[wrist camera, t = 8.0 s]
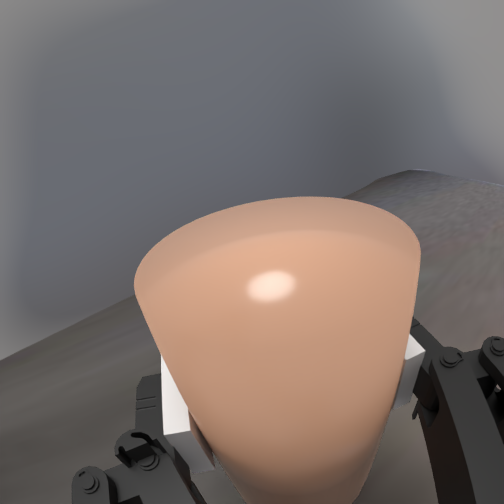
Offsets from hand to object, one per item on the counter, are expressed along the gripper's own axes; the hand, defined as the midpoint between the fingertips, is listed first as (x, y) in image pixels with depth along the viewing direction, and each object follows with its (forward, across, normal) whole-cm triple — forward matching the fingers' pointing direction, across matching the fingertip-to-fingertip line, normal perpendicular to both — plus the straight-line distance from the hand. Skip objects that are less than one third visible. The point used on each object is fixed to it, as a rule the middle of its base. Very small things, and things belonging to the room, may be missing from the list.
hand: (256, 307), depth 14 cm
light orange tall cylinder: (-5, 0, -7) cm, 8 cm away
